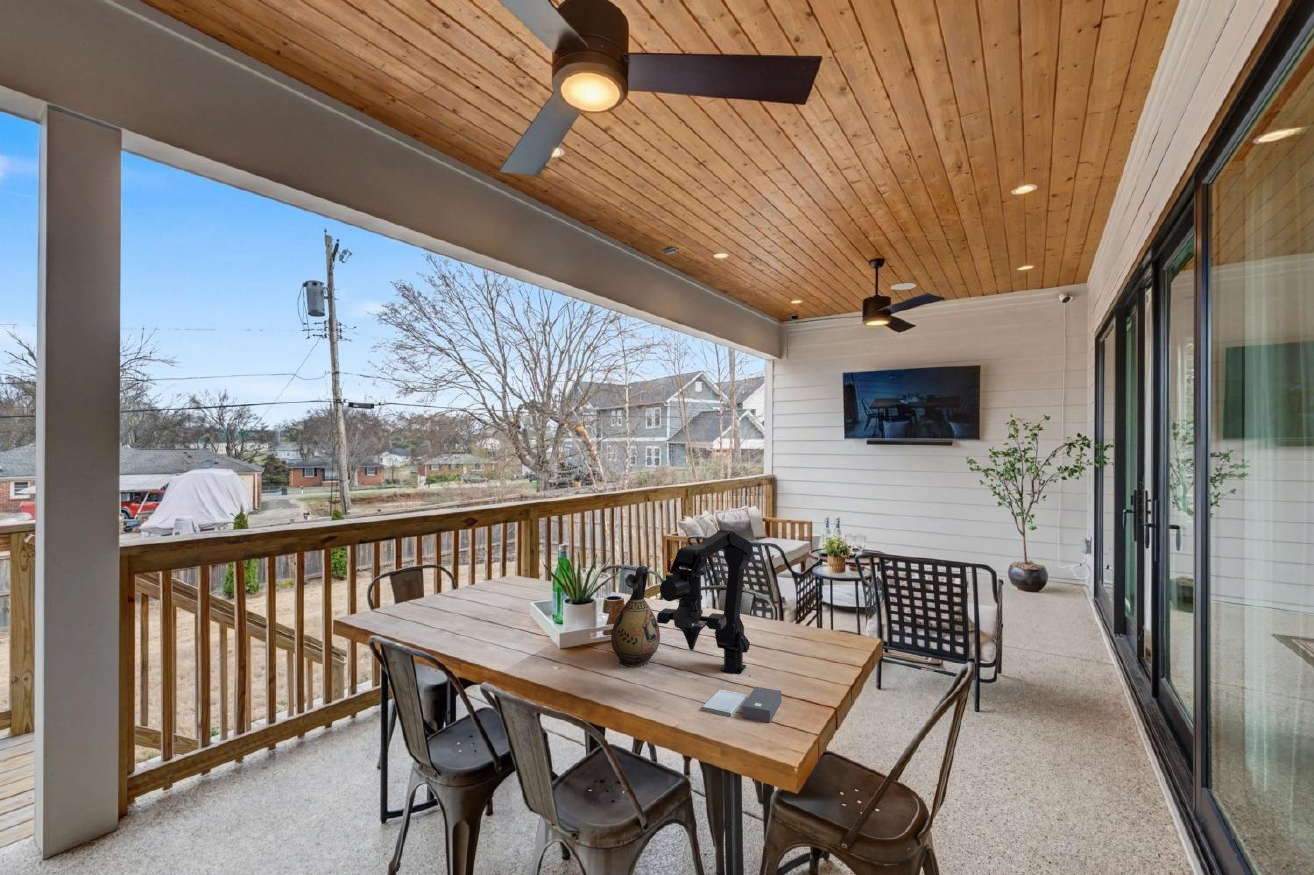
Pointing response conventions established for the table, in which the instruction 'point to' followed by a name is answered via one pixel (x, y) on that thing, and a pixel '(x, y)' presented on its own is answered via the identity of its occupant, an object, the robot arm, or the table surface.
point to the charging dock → (761, 704)
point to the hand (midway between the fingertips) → (691, 649)
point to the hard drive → (724, 703)
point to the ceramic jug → (636, 625)
